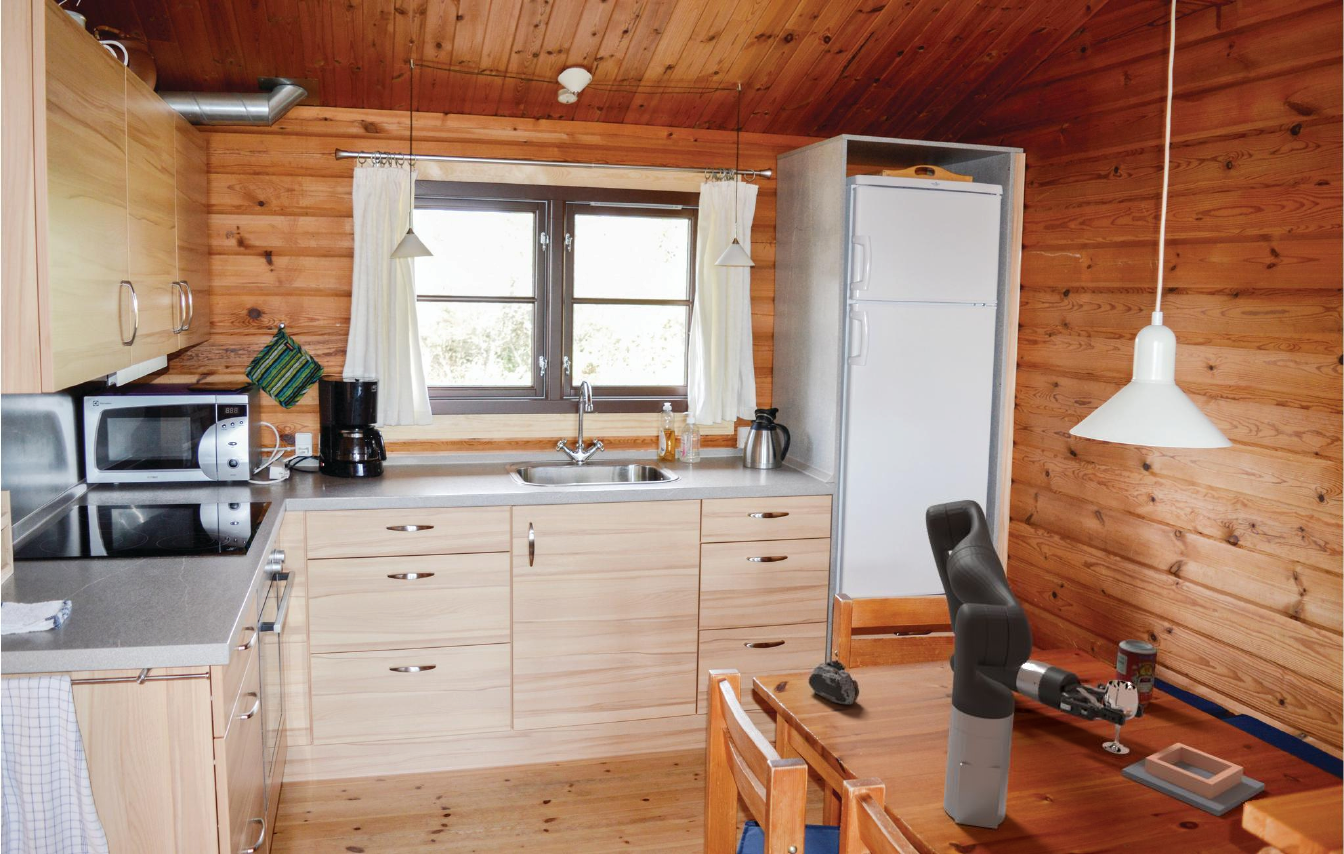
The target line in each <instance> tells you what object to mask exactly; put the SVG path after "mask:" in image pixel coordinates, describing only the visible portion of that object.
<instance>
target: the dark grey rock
mask: <svg viewBox="0 0 1344 854" xmlns="http://www.w3.org/2000/svg"><path fill="white" fill-rule="evenodd" d="M846 667H847V665H843V663H842V662H840V661H839V659H835V660H831V661H827V662H826V663H825V662H824V663H823V662H821V663H819V664H818V665H817V666H815V668H814V669H813V670H812V672H811V674H810V676H809V678H808V685H809V686H810V688H811V689H812V690H813V692H814V693H816V694H817V695H818V696H821V697H822V698H825V699H826V700H828V701H830V702H831V703H837V704H840V705H852V704H853V703H854V702H855V701H857V700H858V697H859V696H860V688H859V684H858V681H857V680H856V679H853V678H852V676H851V674H850V673H849V672H847V671H846V670H845V669H846Z"/></svg>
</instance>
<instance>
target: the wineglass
mask: <svg viewBox="0 0 1344 854" xmlns="http://www.w3.org/2000/svg"><path fill="white" fill-rule="evenodd" d="M1102 705H1103V706H1104V707H1108V708H1110V709H1113V710H1116V711H1119V712H1122V713H1124V714H1125V715H1126V719H1125V721H1127V720H1131V719H1133V718H1134V717H1135V715H1136V713H1137V709H1138V694H1137V688H1136V686H1135V685H1134V684H1132V683H1129V682H1126V681H1121V680H1115V679H1111V680H1109V681H1107V684H1106V689H1105V692H1104V696H1103V699H1102ZM1114 727H1115V738H1114V741H1113V742H1112V741H1107V742H1103V744H1102V748H1103V749H1104V750H1105V751H1108V752H1110V753H1113V754H1117V755H1118V754H1119V755H1126V754H1128V753H1130V748H1129V747H1127V746H1126V745H1124V744H1122V743H1120V742H1119V735H1120V734H1119V733H1120V729H1121V727H1122V726H1119V725H1117V724H1114Z"/></svg>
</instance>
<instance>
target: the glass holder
mask: <svg viewBox="0 0 1344 854" xmlns="http://www.w3.org/2000/svg"><path fill="white" fill-rule="evenodd" d="M1243 774H1244V767H1243V766H1240V765H1238V764H1236V763H1233V762H1230V761H1228V760H1225V759H1222V758H1220V757H1217V756H1214V755H1211V754H1209V753H1206V752H1204V751H1201V750H1200V749H1196V748H1193V747H1191V746H1189V745H1186V744H1183V743H1180V742H1176V743H1174V744H1173V745H1170V746H1167V747H1166V748H1164V749H1161V750H1159V751H1157V752H1155V753H1152V754H1151V755H1149V756H1147V757H1145V758H1143V759H1141V760H1139V761H1136V762H1134V763H1133V764H1130V765H1128V766H1127V767H1124V768H1122V769H1121V776H1122V777H1125V778H1128V779H1130V780H1132V781H1134V782H1138V784H1142V785H1144V786H1147V787H1148V788H1151V789H1154V790H1156V791H1158V792H1160V793H1163V794H1164V795H1167V796H1170V797H1172V798H1175V799H1176V800H1179V801H1181V802H1183V803H1186V804H1188V805H1190V806H1193V807H1195V808H1198V809H1199V810H1202V811H1205V812H1207V813H1209V814H1211V815H1213V816H1217V817H1221V816H1222V815H1224V814H1225V813H1227V812H1229V811H1230V810H1233V809H1234V808H1235V807H1237V806H1239V805H1241V804H1242V803H1244V802H1246V801H1247V800H1249V799H1251V798H1252V797H1254V796H1256V795H1257V794H1260V793H1261V792H1262V791H1264V790H1265V788H1266V787H1265V786H1266V784H1265V783H1264V782H1260V781H1259V780H1256V779H1253V778H1250V777H1248V776H1246V775H1243ZM1241 802H1242V803H1241Z"/></svg>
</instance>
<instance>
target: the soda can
mask: <svg viewBox="0 0 1344 854" xmlns="http://www.w3.org/2000/svg"><path fill="white" fill-rule="evenodd" d="M1157 656H1158V650H1157V648H1156V647H1155V646H1153V644H1150V643H1148V642H1146V641H1144V640H1143V641H1142V640H1138V639H1125V640H1122V641H1120V643H1119V644H1118V651H1117V661H1116V670H1115V679H1114V680H1121V681H1126V682H1129V683H1132V684H1134V685H1135V686H1136V688H1137V694H1138V704H1139V705H1142V706H1143V708H1146V707H1147V706H1148V704H1149V702H1150V701H1151V700H1153V696H1154V695H1153V694H1154V683H1155V675H1156V667H1157V666H1156V665H1157Z"/></svg>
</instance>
